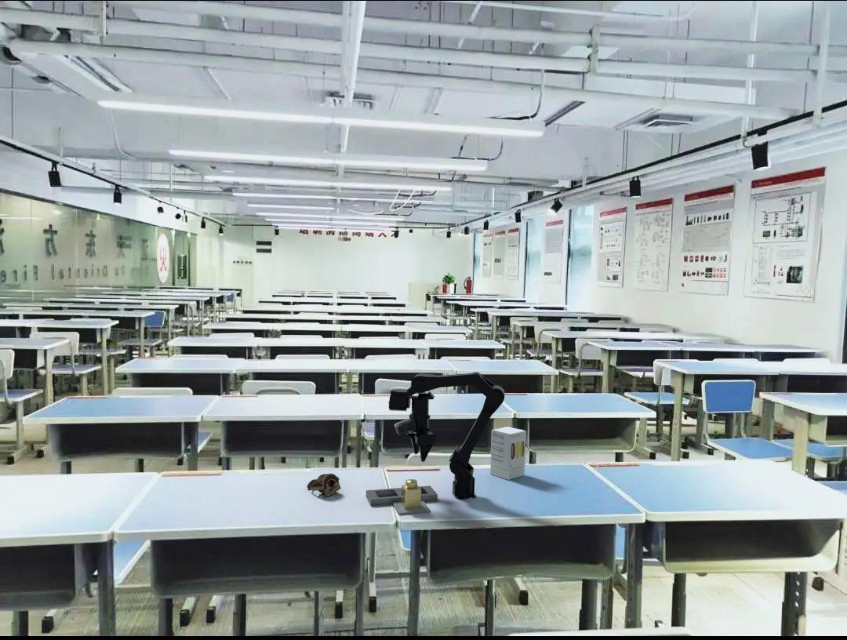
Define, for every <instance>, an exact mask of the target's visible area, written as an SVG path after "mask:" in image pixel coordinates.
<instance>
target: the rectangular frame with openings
mask: <svg viewBox="0 0 847 640" xmlns="http://www.w3.org/2000/svg"><path fill="white" fill-rule="evenodd" d="M418 486H419V485H418ZM419 487H420V489H421V500H423V501H424V502H425V503H426V502H437V501H438V495H439V494H438V493H437V492H436V491H435V489H434V488H433V487H432V486H431V485H422V486H419ZM401 496H402V487H393V488H379V489H367V490H366V489H365V497H366V499H367V502H368V503H369V505H370V507H373V506H385V505H393V504H392V502H401Z"/></svg>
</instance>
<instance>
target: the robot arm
mask: <svg viewBox="0 0 847 640" xmlns="http://www.w3.org/2000/svg"><path fill="white" fill-rule="evenodd" d="M464 386H465V387H466V386H473V387H475V388H476V389H477V390H479V392H480V393H481V394H482V395H484V396H485V399H484V403H483V405H482V409H480V410H481V411H480V413H479V414H478V416H477V417H476V420H475V421H474V423H473V425H472V427H471V429H470V431H469V432H468V434H467V437H466V438H465V440H464V442H463V444H462V445H461V446H460V447H458V445H456V446H455V448H454V450H453V453H452V454H451V455H450V458H449V460H448V462H449V464H448V465H449V466H448V467H449V468H448V469H449V470H450V472H451V473H452V474H453V475H454V476H453V477H454V478H453V481H452V492H451V493H452V494H453V496H454V497H456V499H457V500H462V499H463V500H464V499H465V500H466V499H475V498H477V495H476V493H475V491H476V490H475V487H476V486H475V484H476V477H474V476H473V475H474V471H475V468H474V466H472V464H470V460H471V456H472V453H473V450H474V449H475V447H476V445H477V443H478V442H479V439H480V438H481V436H482V435H483V432H484V430H485V428H486V426H487V425H488V423H489V421H490V419H491V418H492V416H493V415H494V414H495V413H496V412H497V411H498V409H499V408H500V406H501V405H502V404H503V403H504V401H505V398H506V397H505V396H506V393H505V390H504V388H503V387H502V386H501V385H495V383H493V382H492V381H491V380H489V379H487V378H486V377H485V376H483V374H482V373H480V372H478V371H474V372H469V373H467V372H466V373H465V372H464V373H455V374H444V375H443V374H442V375H440V374H439V375H438V374H432V373H424V372H423V373H418V374H416V375H414V377H413V378H412V379H411V382H410V387H409V388H407V389H406V390H397V389H396V390H394V389H392V390H390V393H389V394H390V395H389V401H388V411H395V412H398V411H399V412H407V411H408V409H410V408H411V413H409V415H408V417H409V418H406V419H404V420H401V421H399V422H395V423H394V425H393V426H394V428H395V432H396V434H397V435H398V436H403V435H405V434H406V435H407V436H408V437H409V438H410V440H411V444H412V449H413V454H414V455H418V454H419V455H420V461H421V462H422V463H424V462H426V459H427V458H428V456H429V454H430V451H431V450H432V447H433V446H434V445H435V443H437V436H436V435H435V434H434V433H433V432H431V428H430V427H429V420H430V419H431V415H429V407H430V400H434V399H435V398H436V397H435V395H434V394H433V393H432V391H434V390H436V389H439V388H440V389H441V388H453V387H464ZM426 392H427V393H426ZM415 394H417V395H415Z"/></svg>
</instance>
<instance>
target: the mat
mask: <svg viewBox="0 0 847 640" xmlns="http://www.w3.org/2000/svg"><path fill="white" fill-rule="evenodd" d="M391 505H392V506H393V508H394V509H395V511H396V512H397V514H398V515H399V516H402V515H414V514H415V515H416V514H425V513H431V512H432V511H431V509H430V508H429V507H428V505H427V504H426V501H425V502H424V501H423V500H421V508H416V509H404V507H403V506H402V504H401V502H392V504H391Z"/></svg>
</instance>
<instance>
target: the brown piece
mask: <svg viewBox="0 0 847 640" xmlns="http://www.w3.org/2000/svg"><path fill="white" fill-rule="evenodd" d="M306 488H307V489H310V490H311V491H317V492H319V493H321V494H325V497H326V498H328V497H329V496H331V495H333V494H335V493H337V492H338V491H340V490H342V487H341V485H340V477H339V476H337V475H336V474H335V473H322V474H320V475H319V476H318V477H317V478H315V479H312V480H310V481H309V482H308V483H307V485H306Z"/></svg>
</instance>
